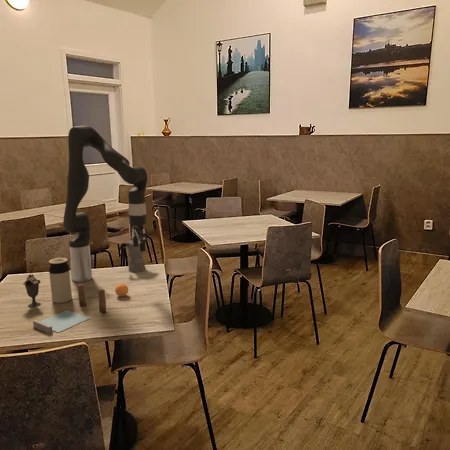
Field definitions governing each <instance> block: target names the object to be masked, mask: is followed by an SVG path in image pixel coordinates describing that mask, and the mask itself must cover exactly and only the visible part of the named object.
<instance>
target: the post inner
mask: <svg viewBox="0 0 450 450" xmlns="http://www.w3.org/2000/svg"><path fill="white" fill-rule="evenodd" d="M77 291H78V300H79V301H78V303H79V304H78V305H79V307H85V306H87V299H86V289H85V284H84V283H80V284H78V285H77Z"/></svg>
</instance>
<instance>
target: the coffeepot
mask: <svg viewBox="0 0 450 450" xmlns="http://www.w3.org/2000/svg"><path fill="white" fill-rule="evenodd" d="M124 247H127V251H128V255H129V256H127V255H126V252H125V249H124ZM119 250H120V252H121V255H122V257H123V259H128V258H129V259H128V271H129V272H131V273H139V272H144V271H146V265H145V264H146V263H145V260H144V257H143V255H144V251H143V252H141V251H140V242H139V239H138V247H134V246H133V239H132V240H128V241H126V242H123V243H121V244H120V246H119Z"/></svg>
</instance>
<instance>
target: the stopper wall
mask: <svg viewBox="0 0 450 450" xmlns="http://www.w3.org/2000/svg"><path fill="white" fill-rule="evenodd" d="M40 321H41V320H37V319H34V320H32V324H33V325H32V327H33V328H35V329H37V330H40V331H42V332H45V333H46V334H49V335H50V334H52V333H53V331H52V326H50V325H48V324H45V323H43V322H40Z"/></svg>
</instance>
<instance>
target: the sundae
mask: <svg viewBox="0 0 450 450" xmlns="http://www.w3.org/2000/svg"><path fill="white" fill-rule="evenodd" d="M29 271H30V273H29V274H28V276H27V278H26V279H25V281H24V282H23V284H22V286H25V287H24V288H25V290H26V293H27V296H28V297H30V298H31V303H29V304H27V307H28V308H37V307H39V306H41V304H42V303H41V302H37V301H36V297H38V295H39V292H40V291H39V289H40V288H39V286H40V284H41V280H40V279H37V278H36V277H35V275H34V274H33V271H32V269H30V270H29Z"/></svg>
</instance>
